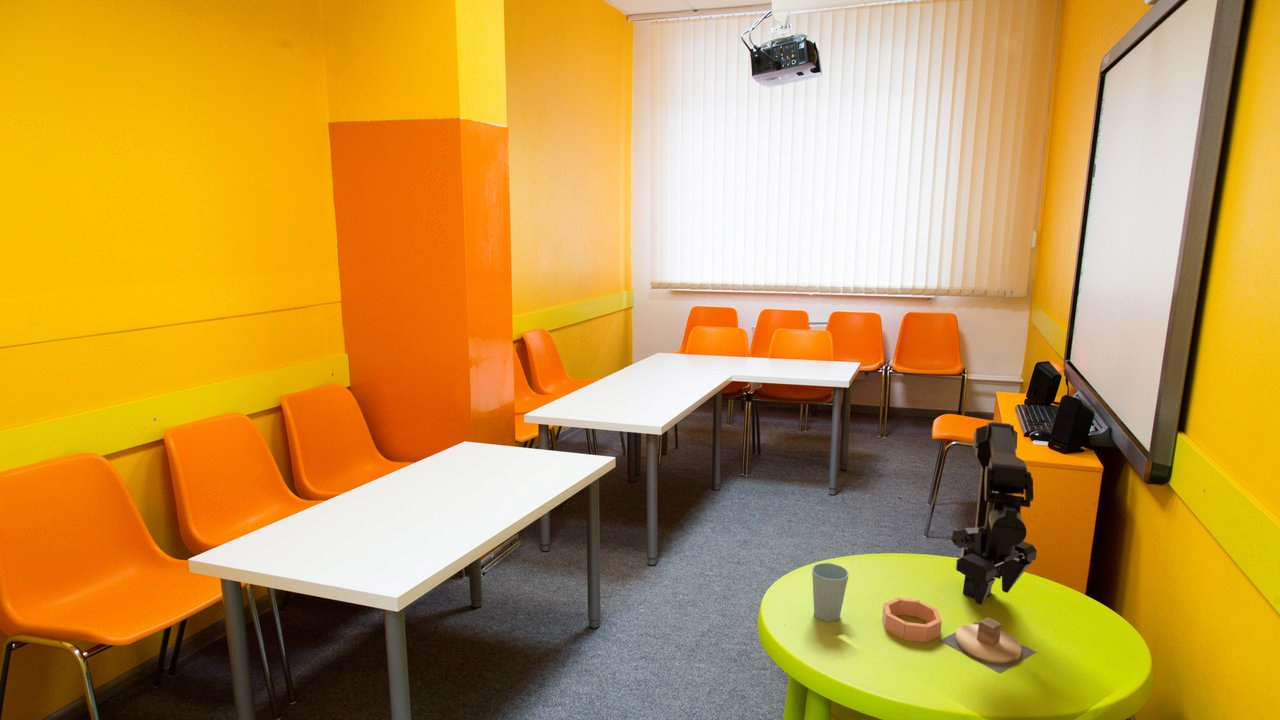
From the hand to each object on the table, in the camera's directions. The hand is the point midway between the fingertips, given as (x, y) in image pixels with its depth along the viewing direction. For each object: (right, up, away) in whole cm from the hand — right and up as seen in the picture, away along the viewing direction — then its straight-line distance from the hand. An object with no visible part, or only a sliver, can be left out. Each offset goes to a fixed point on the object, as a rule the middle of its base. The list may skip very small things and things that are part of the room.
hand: (992, 597), depth 148 cm
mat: (0, -12, +2) cm, 12 cm away
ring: (-13, -10, +9) cm, 19 cm away
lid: (0, -10, +2) cm, 11 cm away
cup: (-29, -9, +15) cm, 34 cm away
